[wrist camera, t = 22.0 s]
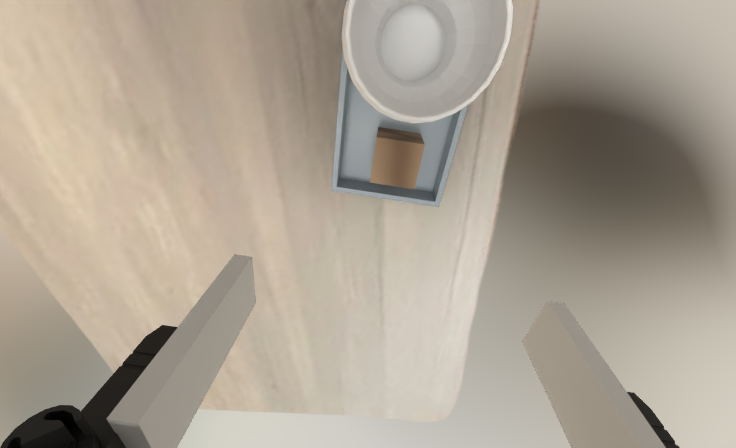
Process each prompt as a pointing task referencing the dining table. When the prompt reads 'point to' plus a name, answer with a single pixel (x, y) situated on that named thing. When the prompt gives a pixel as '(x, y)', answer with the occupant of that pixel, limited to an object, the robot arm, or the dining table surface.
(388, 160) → the walnut cube
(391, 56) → the cup
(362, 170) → the tray
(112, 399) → the robot arm
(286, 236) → the dining table surface
